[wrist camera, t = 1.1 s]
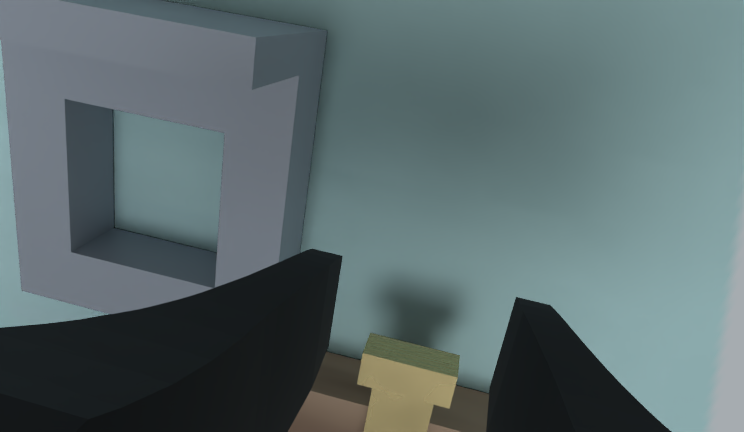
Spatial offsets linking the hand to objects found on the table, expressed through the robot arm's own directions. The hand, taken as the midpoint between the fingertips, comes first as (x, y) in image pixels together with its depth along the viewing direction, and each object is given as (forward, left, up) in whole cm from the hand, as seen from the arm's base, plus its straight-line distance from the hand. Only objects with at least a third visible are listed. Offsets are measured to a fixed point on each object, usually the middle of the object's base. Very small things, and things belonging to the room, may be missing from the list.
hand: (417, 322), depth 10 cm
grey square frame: (-2, +10, -9) cm, 14 cm away
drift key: (-8, 0, -7) cm, 10 cm away
